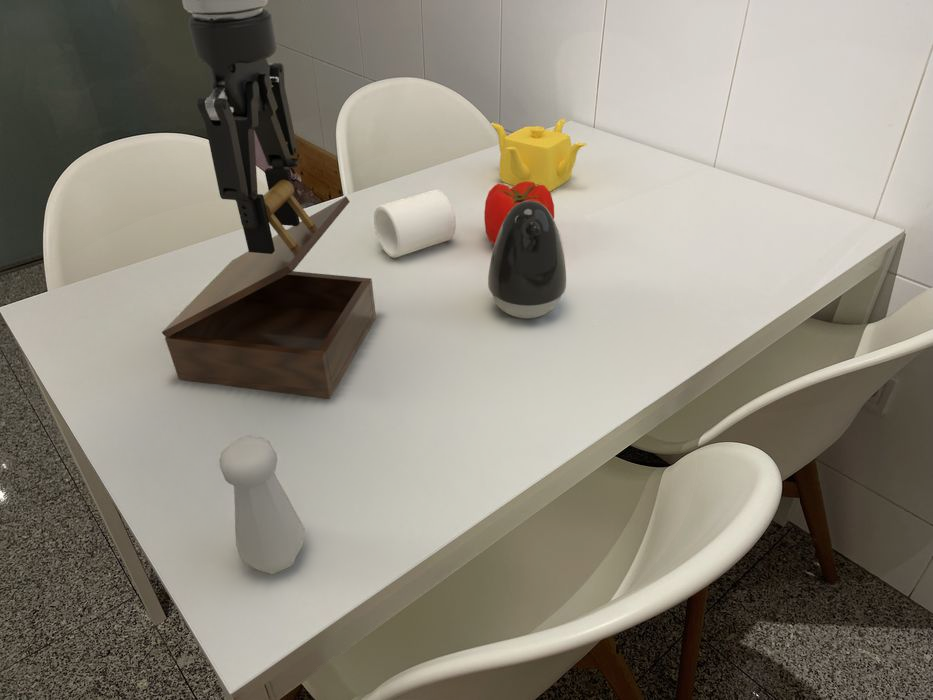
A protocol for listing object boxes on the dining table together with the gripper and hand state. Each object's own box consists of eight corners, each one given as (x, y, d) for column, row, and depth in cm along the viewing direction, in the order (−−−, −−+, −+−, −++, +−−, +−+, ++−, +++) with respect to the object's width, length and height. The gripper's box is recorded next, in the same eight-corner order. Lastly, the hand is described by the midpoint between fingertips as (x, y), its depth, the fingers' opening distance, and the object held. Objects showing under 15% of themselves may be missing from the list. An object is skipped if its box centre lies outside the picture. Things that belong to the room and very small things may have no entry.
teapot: (490, 167, 134) (490, 117, 128) (561, 162, 135) (565, 112, 130) (505, 199, 122) (506, 145, 116) (583, 192, 124) (588, 139, 118)
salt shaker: (317, 564, 61) (293, 459, 53) (253, 594, 59) (217, 488, 51) (295, 519, 65) (269, 415, 57) (234, 545, 63) (199, 440, 55)
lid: (350, 201, 83) (315, 152, 80) (292, 272, 70) (248, 215, 67) (236, 264, 92) (201, 222, 89) (166, 337, 79) (122, 290, 76)
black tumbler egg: (492, 332, 89) (492, 223, 80) (484, 290, 98) (484, 187, 89) (571, 327, 90) (580, 219, 81) (557, 286, 98) (563, 183, 89)
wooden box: (376, 317, 93) (371, 278, 89) (329, 399, 79) (322, 356, 76) (244, 303, 96) (235, 265, 92) (178, 379, 83) (164, 338, 79)
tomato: (485, 261, 104) (484, 205, 99) (484, 225, 114) (483, 172, 109) (556, 260, 104) (560, 204, 99) (549, 224, 114) (552, 171, 108)
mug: (457, 247, 108) (455, 199, 103) (401, 266, 103) (397, 217, 99) (417, 220, 116) (414, 174, 111) (364, 236, 112) (358, 189, 107)
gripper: (214, 36, 56) (269, 283, 70) (306, -7, 71) (337, 204, 85) (131, 33, 58) (201, 276, 71) (239, -8, 73) (280, 199, 86)
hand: (275, 236), depth 78 cm, fingers closed on lid, 6 cm apart
